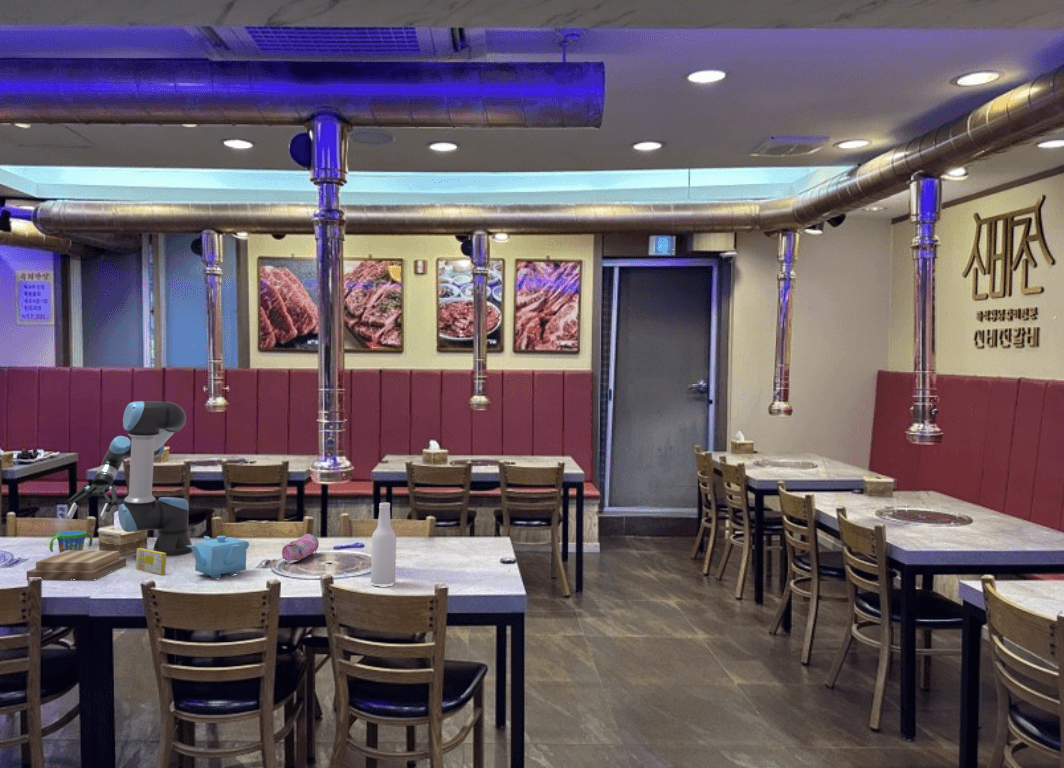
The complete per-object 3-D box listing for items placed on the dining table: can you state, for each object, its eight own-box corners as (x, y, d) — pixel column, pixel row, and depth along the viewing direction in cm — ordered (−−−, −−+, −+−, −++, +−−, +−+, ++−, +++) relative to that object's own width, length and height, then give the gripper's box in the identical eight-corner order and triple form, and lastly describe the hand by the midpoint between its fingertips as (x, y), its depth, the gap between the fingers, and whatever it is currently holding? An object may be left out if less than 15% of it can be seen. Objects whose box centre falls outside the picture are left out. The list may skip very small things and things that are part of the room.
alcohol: (396, 581, 289) (398, 501, 289) (393, 587, 280) (395, 505, 280) (373, 581, 288) (374, 501, 288) (368, 587, 280) (370, 504, 280)
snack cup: (88, 552, 326) (88, 528, 326) (96, 556, 318) (96, 532, 318) (45, 558, 315) (46, 533, 315) (52, 562, 307) (53, 537, 307)
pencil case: (300, 565, 312) (301, 543, 312) (279, 564, 313) (279, 542, 313) (320, 553, 333) (320, 533, 333) (299, 553, 334) (300, 532, 334)
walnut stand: (126, 565, 306) (126, 549, 306) (93, 580, 282) (94, 564, 282) (64, 564, 305) (64, 549, 305) (26, 579, 281) (26, 563, 281)
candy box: (166, 574, 293) (166, 552, 293) (160, 575, 291) (161, 553, 291) (140, 568, 301) (140, 547, 301) (135, 569, 299) (135, 548, 299)
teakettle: (251, 569, 304) (252, 531, 304) (238, 581, 285) (239, 541, 285) (201, 569, 302) (202, 531, 302) (185, 581, 283) (186, 541, 283)
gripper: (136, 483, 345) (118, 523, 330) (79, 482, 344) (59, 522, 329) (130, 472, 340) (112, 512, 325) (72, 471, 339) (52, 511, 324)
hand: (85, 517), depth 327 cm, fingers open, 13 cm apart
